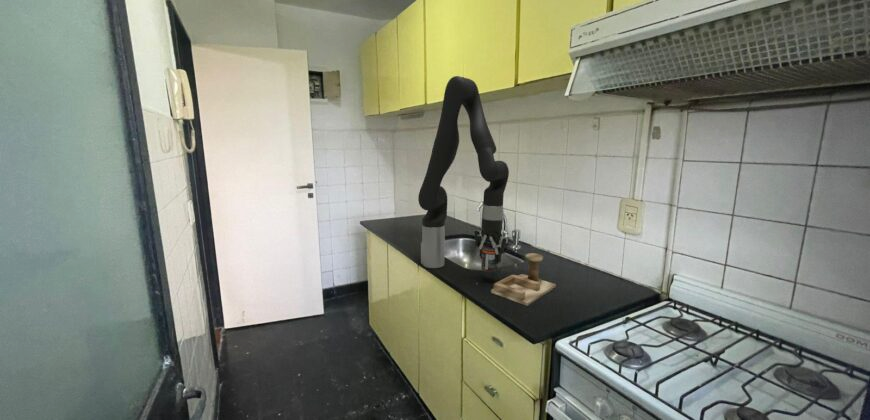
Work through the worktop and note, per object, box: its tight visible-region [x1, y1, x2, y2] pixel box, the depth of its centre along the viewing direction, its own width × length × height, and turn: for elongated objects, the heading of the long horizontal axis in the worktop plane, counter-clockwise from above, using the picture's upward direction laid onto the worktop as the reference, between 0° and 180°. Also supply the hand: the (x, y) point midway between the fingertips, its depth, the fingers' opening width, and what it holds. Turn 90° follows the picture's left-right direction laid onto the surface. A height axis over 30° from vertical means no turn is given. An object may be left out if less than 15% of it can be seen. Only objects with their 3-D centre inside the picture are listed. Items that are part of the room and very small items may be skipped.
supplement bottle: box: [480, 241, 499, 273], centre depth 130 cm, size 6×6×11 cm
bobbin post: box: [525, 252, 544, 284], centre depth 127 cm, size 6×6×10 cm
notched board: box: [490, 273, 557, 307], centre depth 124 cm, size 14×20×4 cm
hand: (489, 260), depth 130 cm, fingers closed on supplement bottle, 6 cm apart
